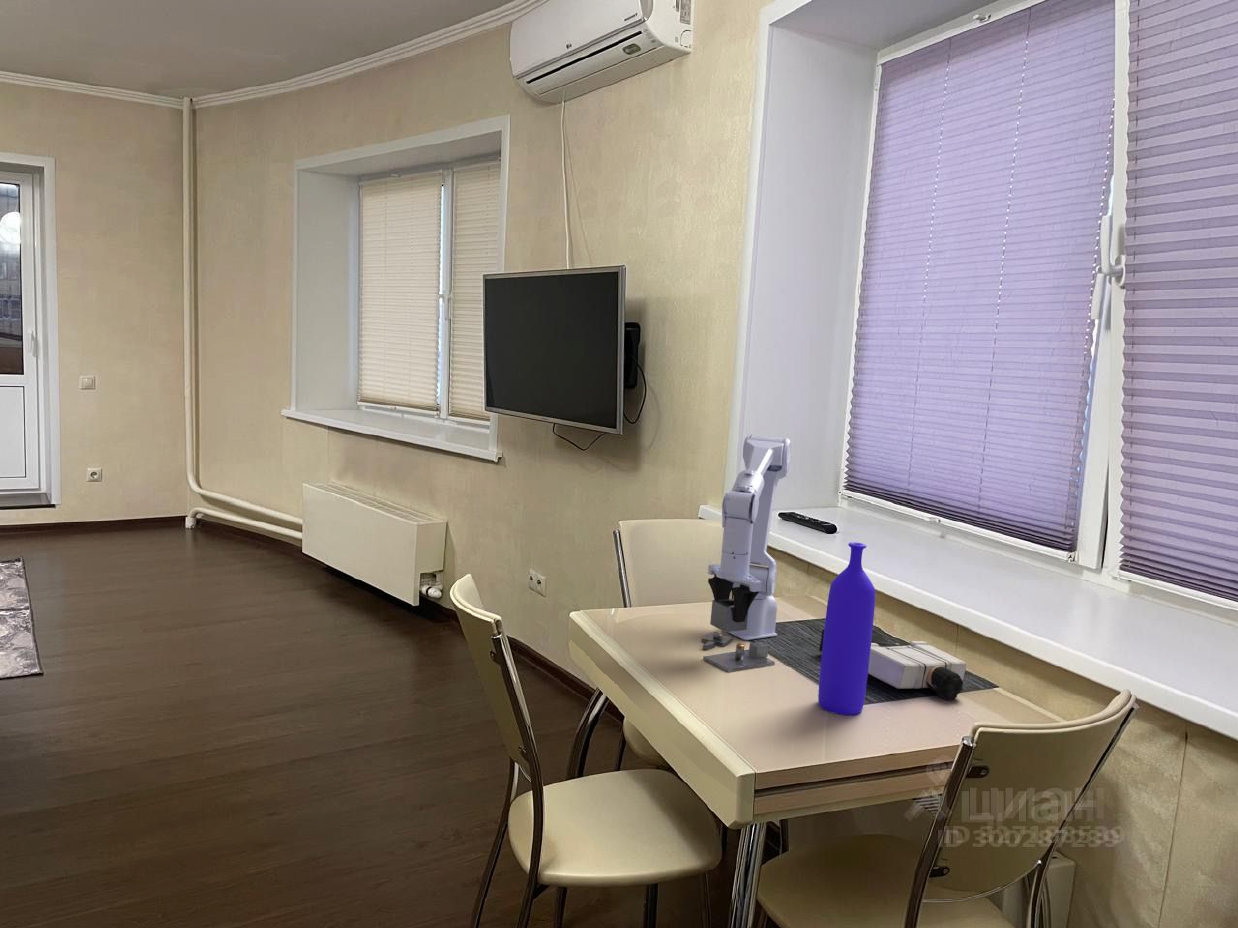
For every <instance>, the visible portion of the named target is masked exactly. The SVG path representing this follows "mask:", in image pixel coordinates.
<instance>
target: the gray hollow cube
mask: <svg viewBox="0 0 1238 928" xmlns="http://www.w3.org/2000/svg"><path fill="white" fill-rule="evenodd" d="M747 619H748V613H747V616H746V618H745V621H744V622H735V621H734V599H733V598H729V599H722V600H714V599H713V600H712V601H711V614H710V620H709V621H710V623H709V624H710V625H711V626H712V627H713V628H714V627H715V628H716V629H718V630H720V631H722V632H724V633H728V632H732V631H741V630H746V629H747Z"/></svg>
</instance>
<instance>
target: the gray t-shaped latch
mask: <svg viewBox="0 0 1238 928" xmlns="http://www.w3.org/2000/svg"><path fill="white" fill-rule="evenodd" d="M701 642H702V643H704V644H702V650H704V651H709V650H712V649H714V648H715V647H716V646H718V647H723V648H725V647H726V646H727V645H729V644H731V643H732V642H734V638H733V637H732V636H727V635H724V634H723V633H722V632H720V631H715V632H711V633H709V634H707V635H705V636H704V637H702V639H701Z"/></svg>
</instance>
